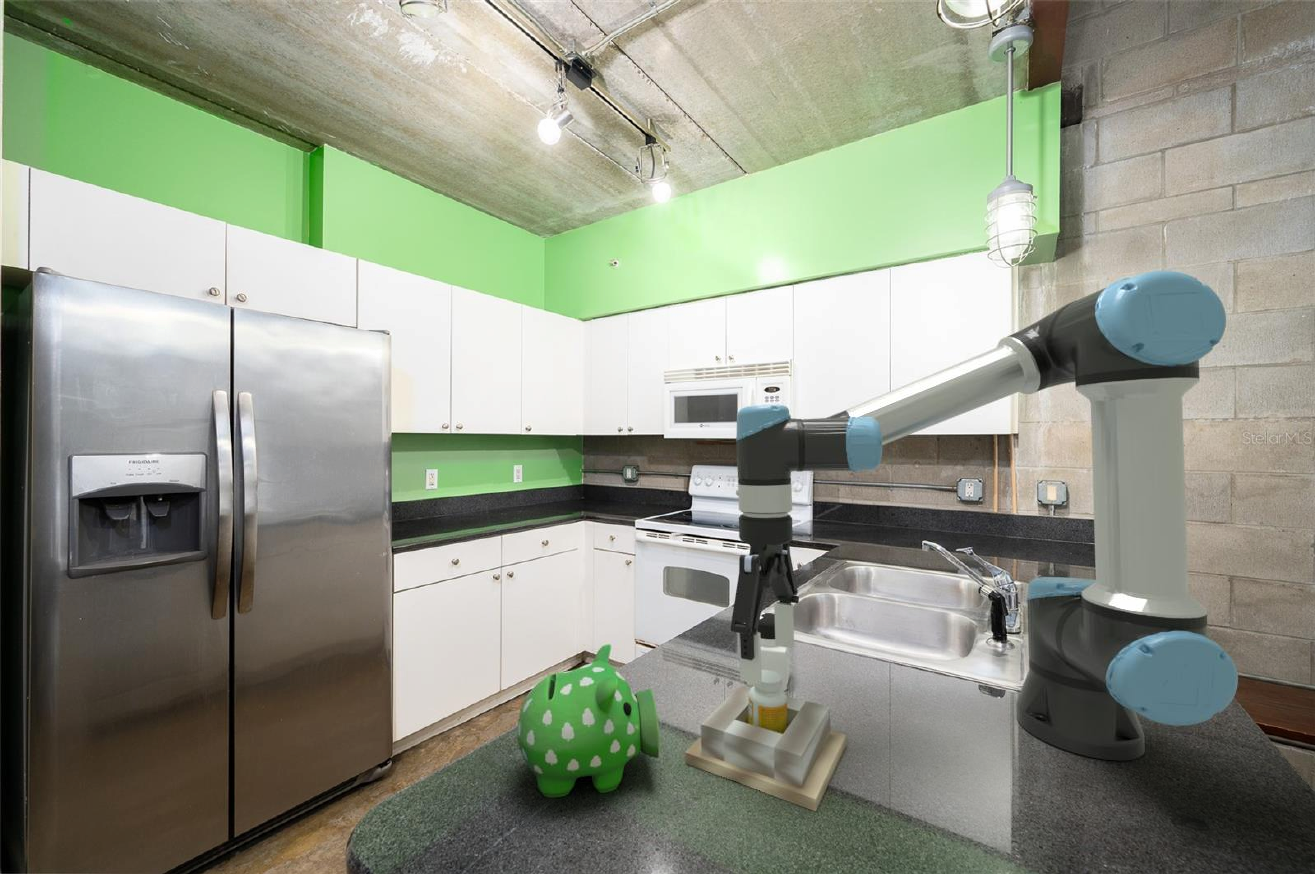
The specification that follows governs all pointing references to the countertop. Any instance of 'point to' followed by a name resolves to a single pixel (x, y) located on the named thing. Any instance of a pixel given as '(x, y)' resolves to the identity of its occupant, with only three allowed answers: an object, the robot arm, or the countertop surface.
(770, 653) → the medicine bottle
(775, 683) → the supplement bottle
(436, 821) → the countertop surface
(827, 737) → the block
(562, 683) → the piggy bank
